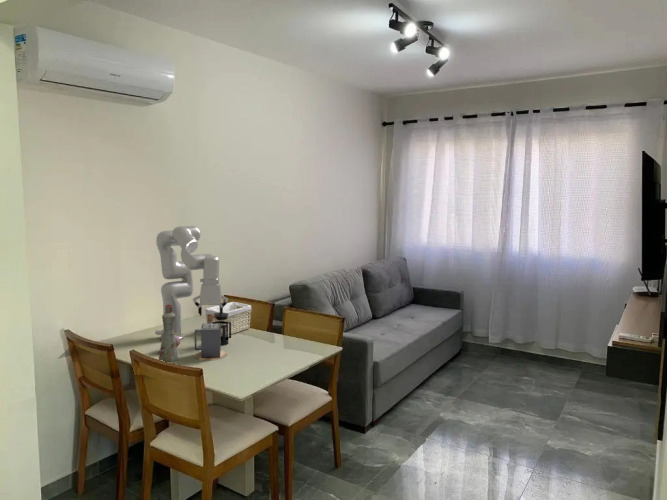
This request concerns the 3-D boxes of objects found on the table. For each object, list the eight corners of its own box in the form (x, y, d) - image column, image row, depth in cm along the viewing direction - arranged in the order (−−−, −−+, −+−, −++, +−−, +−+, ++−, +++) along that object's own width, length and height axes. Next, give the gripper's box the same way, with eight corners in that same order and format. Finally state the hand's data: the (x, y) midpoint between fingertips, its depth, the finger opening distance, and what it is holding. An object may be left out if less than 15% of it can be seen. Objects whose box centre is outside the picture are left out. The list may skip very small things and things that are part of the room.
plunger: (204, 354, 250) (204, 316, 248) (205, 350, 256) (205, 313, 254) (217, 353, 251) (217, 316, 249) (217, 349, 258) (218, 312, 255)
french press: (215, 349, 266) (215, 306, 263) (206, 344, 273) (206, 302, 270) (234, 344, 274) (235, 303, 271) (226, 340, 281) (226, 300, 278)
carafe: (194, 358, 248) (193, 328, 246) (195, 352, 257) (195, 323, 255) (219, 357, 250) (220, 328, 249) (220, 351, 259) (220, 323, 257)
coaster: (193, 362, 245) (193, 360, 245) (196, 351, 261) (196, 350, 260) (226, 361, 248) (226, 359, 248) (227, 351, 263) (227, 349, 263)
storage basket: (223, 338, 286) (223, 312, 284) (203, 332, 295) (203, 308, 293) (252, 329, 306) (252, 305, 304) (233, 324, 315) (233, 301, 313)
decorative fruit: (175, 347, 267) (175, 328, 266) (182, 350, 262) (182, 332, 260) (158, 350, 261) (158, 331, 260) (165, 354, 255) (165, 335, 254)
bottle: (167, 365, 241) (167, 307, 237) (154, 361, 245) (154, 304, 242) (181, 360, 248) (181, 304, 245) (169, 356, 253) (168, 301, 249)
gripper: (192, 282, 244) (191, 317, 247) (228, 283, 248) (228, 317, 250) (193, 279, 252) (193, 313, 254) (229, 280, 255) (228, 313, 257)
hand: (210, 315), depth 252 cm, fingers open, 9 cm apart
